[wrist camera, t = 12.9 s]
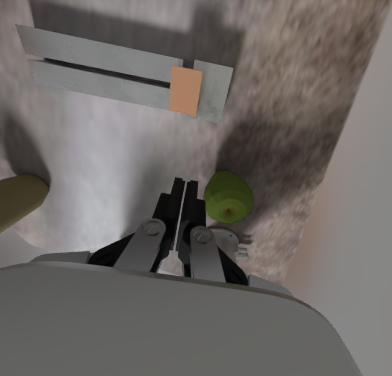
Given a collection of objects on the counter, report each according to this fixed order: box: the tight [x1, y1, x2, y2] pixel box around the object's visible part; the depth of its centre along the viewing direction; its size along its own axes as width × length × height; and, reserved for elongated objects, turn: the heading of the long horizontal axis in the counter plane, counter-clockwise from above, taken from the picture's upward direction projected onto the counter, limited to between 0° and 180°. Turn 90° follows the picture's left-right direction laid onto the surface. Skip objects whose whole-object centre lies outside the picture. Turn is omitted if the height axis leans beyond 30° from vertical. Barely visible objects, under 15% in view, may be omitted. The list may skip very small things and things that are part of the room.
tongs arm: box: [28, 59, 170, 110], centre depth 24 cm, size 20×3×3 cm, turn 80°
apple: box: [203, 171, 253, 224], centre depth 30 cm, size 9×8×12 cm
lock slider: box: [169, 65, 203, 115], centre depth 21 cm, size 4×5×2 cm
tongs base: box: [15, 24, 234, 123], centre depth 23 cm, size 27×7×4 cm, turn 80°
